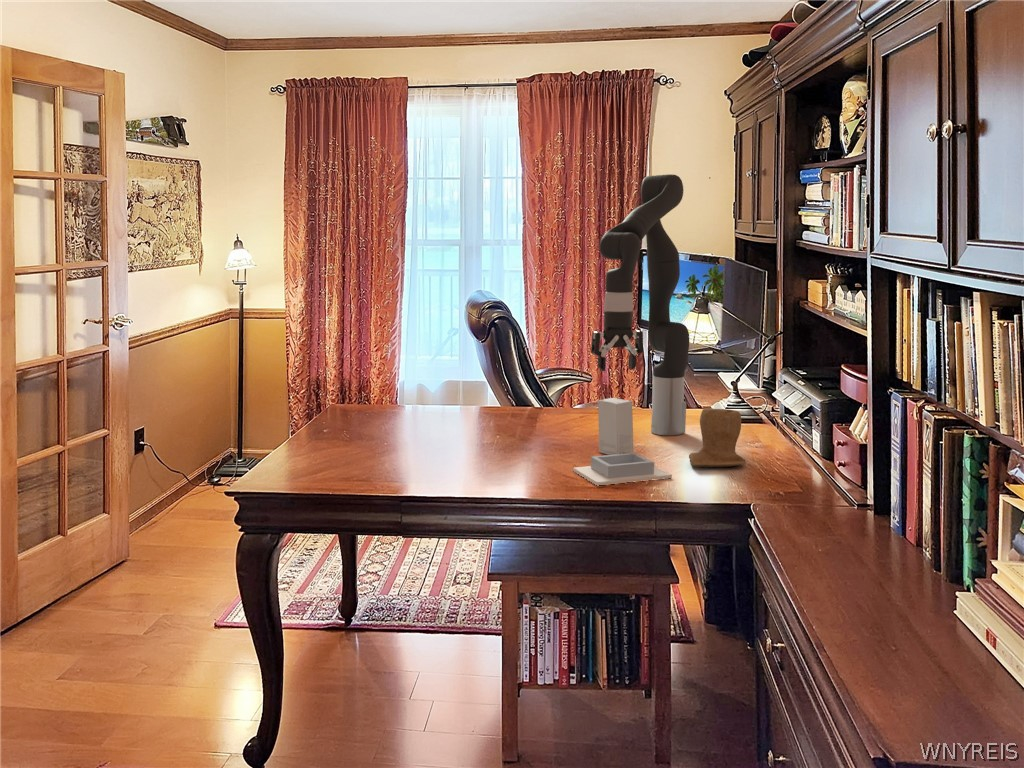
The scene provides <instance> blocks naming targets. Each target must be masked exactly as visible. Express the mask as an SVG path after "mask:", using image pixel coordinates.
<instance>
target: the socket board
mask: <svg viewBox="0 0 1024 768" xmlns="http://www.w3.org/2000/svg"><path fill="white" fill-rule="evenodd" d="M573 471H574V474H576V475H578V474H579V476H580V477H581V476H582V477H581V478H583V477H584V478H583V479H585V480H586V479H587V480H586V481H588V482H589V481H590V482H589V483H591V482H592V483H591V484H593V483H594V484H595V485H594V484H593V485H594V486H596V485H597V486H596V487H600V486H599V485H606V486H609V485H608V484H615V485H618V484H617V483H623V482H633V481H641V480H642V481H643V480H652V479H663V478H672V479H673V474H671V473H669V472H667V471H665V470H663V469H661V468H659V467H658V466H655V461H653V460H651V459H648V458H647V457H645V456H643V455H641V454H640V453H637V452H633V453H627V454H616V455H608V454H605V455H595V456H590V465H589V466H587V465H586V466H577V467H573ZM573 471H572V472H573Z"/></svg>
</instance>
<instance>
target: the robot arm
mask: <svg viewBox="0 0 1024 768" xmlns="http://www.w3.org/2000/svg"><path fill="white" fill-rule="evenodd" d="M683 196H684V183H683V180H682V179H681V177H680V176H678V175H676V174H657V175H648V176H645V177H644V178H643V179H642V182H641V186H640V198H641V204H640V205H639V206H637V207H635V208H633V210H632V211H630V213H629V214H628V215H627V216H626V217H625V218H624V220H623V221H622V222H621V223H619V224H616V225H615V226H613V227H612V228H611V229H609V230H607V231H606V232H605V233H604V234H603V235H602V237H601V238H600V241H599V252H600V254H601V255H602V257H603V258H605V259H607V260H616V261H617V260H618V261H619V260H620V261H622V263H621V265H620V267H616V268H612V269H609V270H608V271H606V273H605V295H604V303H603V331H601V332H599V331H593V332H592V335H591V345H590V346H591V347H590V353H591V354H592V355H595V356H597V369H599V371H601V372H606V365H607V364H606V363H607V362H606V355H607V354H608V352H609V351H611V350H612V349H616V348H621V349H622V348H623V349H624V348H625V350H627V353H629V354H628V360H627V361H628V363H627V364H628V366H627V367H628V370H635V368H636V367H637V355H639V354H642V353H644V331H642V330H640V329H639V330H638V329H635V330H633V328H632V327H633V319H634V318H633V317H634V315H633V313H634V296H633V286H634V285H633V281H634V280H633V279H634V273H635V271H636V270H635V269H636V265H637V262H638V259H639V256H640V253H641V252H640V251H641V249H642V248H641V245H642V244H641V241H642V240H643V239H644V238H645V239H646V240H645V241H646V242H645V244H646V262H647V263H646V266H647V268H646V269H647V279H648V280H647V281H648V298H649V299H648V302H649V304H648V307H649V308H648V326H647V327H648V328H647V330H648V331H647V332H648V335H647V336H648V342H649V345H650V347H651V348H652V349H653V350H654V351H656V352H660V353H663V359H662V360H661V361H662V362H660V363H658V364H655V365H654V366H653V368H652V369H653V370H652V391H651V392H652V394H651V395H652V396H651V425H650V426H651V433H652V434H654V435H660V436H679V435H682V434H686V426H687V425H686V424H687V423H686V421H687V420H686V419H687V401H685V399H684V397H685V396H684V395H685V393H684V391H685V372H686V369H687V366H688V362H689V350H690V333H689V329H688V327H687V326H686V325H685V323H684V324H683V323H681V322H675V321H671V318H670V313H671V312H670V307H671V306H670V304H671V300H672V297H673V295H674V292H675V290H676V288H677V286H678V283H679V281H680V277H681V276H680V275H681V272H680V270H681V269H680V268H681V267H680V254H679V251H678V248H677V247H676V245H675V243H674V241H672V240H673V239H671V237H670V236H669V235H668V233H667V232H666V230H665V229H664V228H665V227H663V226H664V225H663V224H662V220H661V219H662V218H664V216H666V215H667V214H668V213H670V212H671V211H672V210H674V209H675V208H677V207H678V206H679V205H680V203H681V202H682V200H683ZM602 338H603V339H604V341H603V343H602V344H601V341H602ZM632 338H633V339H634V344H633V342H631V339H632Z"/></svg>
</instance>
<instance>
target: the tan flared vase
mask: <svg viewBox="0 0 1024 768" xmlns="http://www.w3.org/2000/svg"><path fill="white" fill-rule="evenodd" d="M699 427H700V431H701V438H702V441H701V442H702V447H701V449H700V450H699V451H696V452H691V453H689V454H688V459H689V463H690V467H692V468H724V467H735V466H737V467H738V466H744V465H747V461H746V459H745V458H743V457H742V456H740V455H738V454H737V452H736V446H737V442H738V439H739V437H740V434H741V429H742V415H741V413H740V411H738V410H733V409H724V408H723V409H722V408H709V407H707V408H703V409H702V410H701V413H700V417H699Z"/></svg>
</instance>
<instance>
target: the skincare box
mask: <svg viewBox="0 0 1024 768" xmlns="http://www.w3.org/2000/svg"><path fill="white" fill-rule="evenodd" d="M597 408H598V409H597V410H598V412H597V413H598V415H597V416H598V420H597V421H598V452H599V453H601V454H605V455H616V454H627V453H634V419H633V418H634V417H633V415H634V414H633V401H632V400H627V399H623V398H622V399H621V398H617V397H616V398H615V397H609V398H603V399H597Z"/></svg>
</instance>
